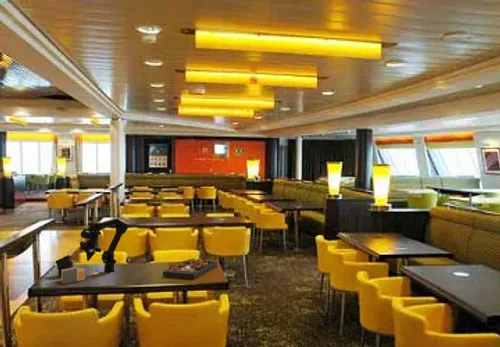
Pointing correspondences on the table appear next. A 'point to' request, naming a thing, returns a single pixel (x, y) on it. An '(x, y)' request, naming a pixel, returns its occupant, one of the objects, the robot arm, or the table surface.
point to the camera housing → (78, 273)
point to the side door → (70, 275)
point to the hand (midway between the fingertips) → (87, 260)
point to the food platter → (189, 268)
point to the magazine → (64, 264)
